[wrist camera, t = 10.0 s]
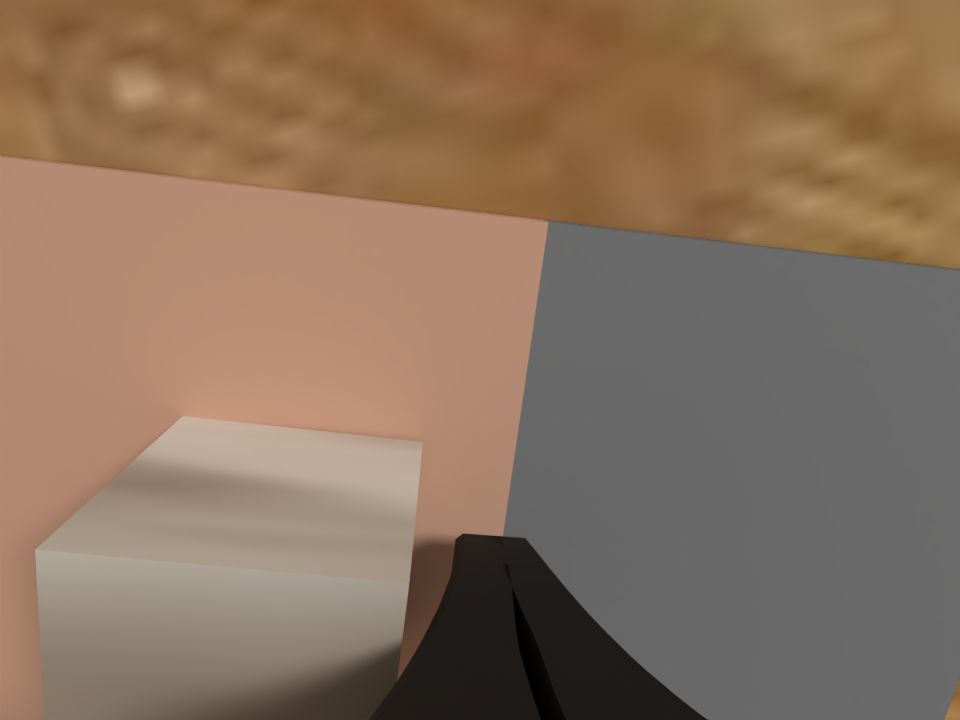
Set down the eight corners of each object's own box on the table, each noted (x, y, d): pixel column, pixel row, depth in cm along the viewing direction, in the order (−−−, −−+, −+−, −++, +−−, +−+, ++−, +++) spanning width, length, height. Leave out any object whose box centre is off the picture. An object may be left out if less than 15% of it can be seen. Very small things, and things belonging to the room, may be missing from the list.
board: (891, 795, 15) (906, 816, 15) (-141, 765, 13) (-163, 787, 12) (1083, 284, 12) (1110, 288, 11) (-254, 124, 10) (-291, 122, 9)
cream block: (398, 638, 12) (376, 852, 8) (179, 620, 12) (49, 834, 8) (423, 441, 11) (409, 583, 7) (183, 415, 11) (34, 549, 7)
